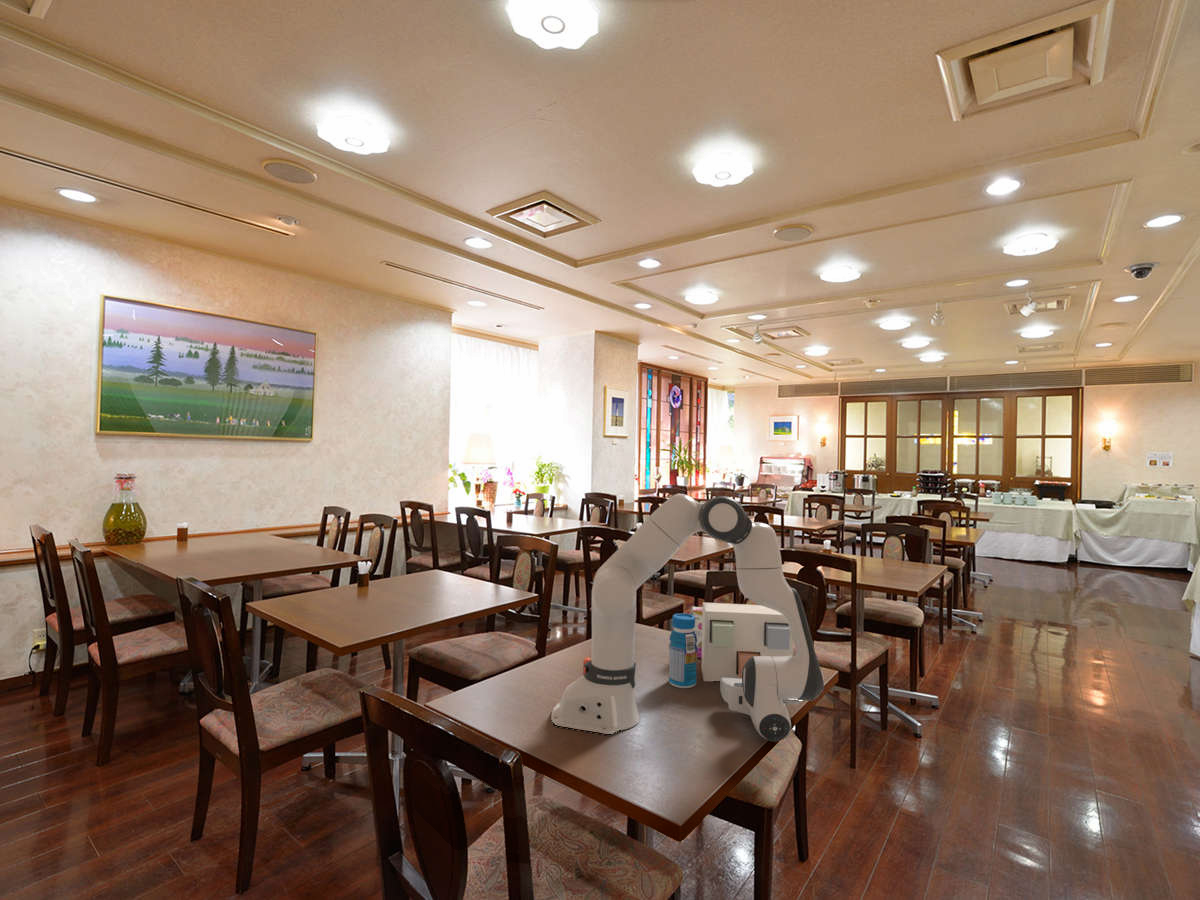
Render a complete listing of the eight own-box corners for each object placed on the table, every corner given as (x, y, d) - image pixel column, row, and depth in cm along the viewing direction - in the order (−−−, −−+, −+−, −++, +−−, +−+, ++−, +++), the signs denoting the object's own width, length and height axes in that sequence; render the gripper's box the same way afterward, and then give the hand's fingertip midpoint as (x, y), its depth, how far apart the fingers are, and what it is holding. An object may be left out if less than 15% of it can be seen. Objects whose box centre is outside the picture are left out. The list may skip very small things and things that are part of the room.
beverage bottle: (666, 687, 170) (667, 618, 170) (670, 676, 179) (671, 611, 179) (695, 690, 168) (697, 621, 168) (697, 679, 176) (699, 613, 177)
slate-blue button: (768, 648, 170) (768, 628, 170) (764, 642, 176) (764, 622, 176) (789, 649, 169) (789, 629, 169) (784, 643, 175) (785, 623, 175)
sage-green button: (712, 645, 172) (712, 625, 172) (710, 639, 178) (711, 619, 178) (733, 646, 171) (733, 626, 171) (730, 640, 177) (731, 620, 177)
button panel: (703, 680, 176) (705, 611, 176) (701, 668, 186) (702, 602, 186) (792, 686, 173) (793, 615, 173) (785, 673, 183) (786, 606, 184)
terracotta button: (739, 677, 171) (740, 657, 171) (736, 670, 177) (737, 650, 177) (760, 679, 170) (760, 658, 170) (757, 671, 176) (757, 651, 176)
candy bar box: (690, 659, 194) (691, 609, 195) (689, 654, 199) (690, 606, 200) (724, 661, 193) (725, 611, 193) (722, 655, 198) (723, 607, 198)
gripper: (805, 690, 147) (793, 670, 161) (723, 684, 150) (718, 665, 163) (805, 715, 147) (793, 693, 161) (723, 709, 150) (718, 688, 163)
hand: (755, 679), depth 162 cm, fingers closed
